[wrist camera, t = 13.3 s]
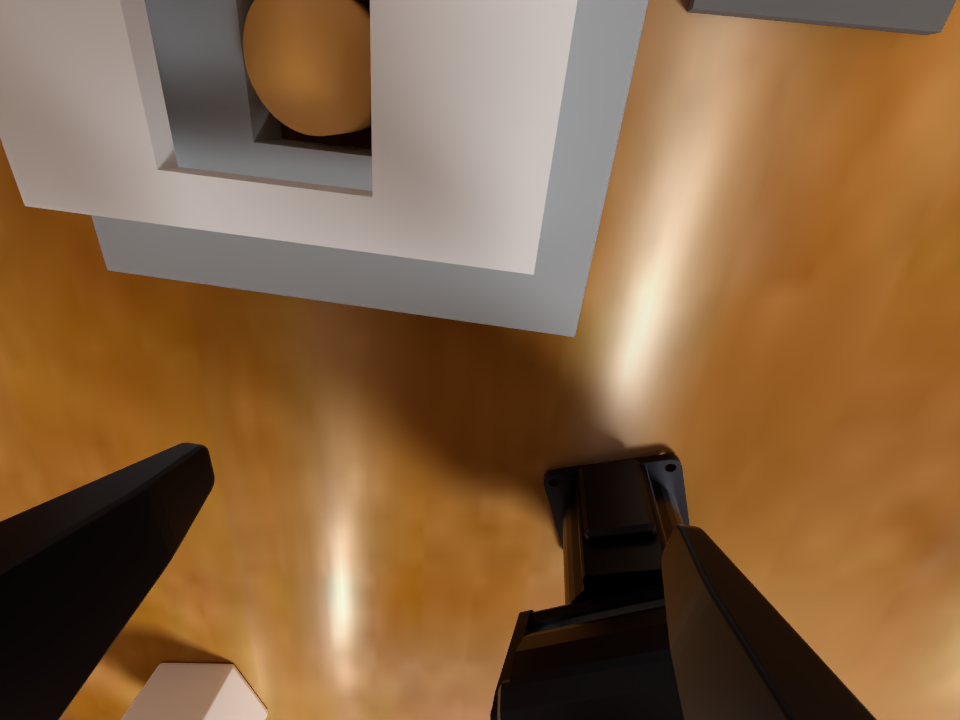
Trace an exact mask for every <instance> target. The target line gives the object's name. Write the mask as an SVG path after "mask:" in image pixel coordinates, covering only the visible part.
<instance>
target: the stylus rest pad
mask: <svg viewBox="0 0 960 720" xmlns="http://www.w3.org/2000/svg"><path fill="white" fill-rule="evenodd" d="M955 1H956V0H690V4H689V8H688V12H692V13H702V14H713V15H723V16H733V17H744V18H754V19H765V20H775V21H785V22H796V23H806V24H816V25H827V26H837V27H847V28H858V29H868V30H878V31H889V32H899V33H909V34H920V35H929V34H934V33H940V32H941V31H942V29H943V27H944V25H945V22H946V20H947V18H948V16H949V14H950V12H951V10H952V8H953V6H954V3H955Z"/></svg>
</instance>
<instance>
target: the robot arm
mask: <svg viewBox="0 0 960 720" xmlns="http://www.w3.org/2000/svg"><path fill="white" fill-rule="evenodd" d="M668 464H673V465H672V466H666V465H668ZM214 479H215V477H214V472H213V467H212V463H211V459H210V455H209V451H208V449H207V448H206V447H205V446H203V445H199V444H193V443H181V444H178V445H176V446H174V447H171V448H169V449H167V450H165V451H162V452H160V453H158V454H155V455H153V456H151V457H148V458H146V459H144V460H142V461H139V462H137V463H135V464H132V465H130V466H128V467H125V468H123V469H121V470H119V471H116V472H114V473H112V474H109V475H107V476H105V477H102V478H100V479H98V480H95V481H93V482H91V483H89V484H86V485H84V486H82V487H79V488H77V489H75V490H72V491H70V492H68V493H66V494H63V495H61V496H59V497H56V498H54V499H52V500H49V501H47V502H45V503H42V504H40V505H38V506H36V507H33V508H31V509H29V510H26V511H24V512H22V513H19V514H17V515H15V516H12V517H10V518H8V519H6V520H3V521H1V522H0V720H59V719H60V717H61V716H62V714H63V713H64V711H65V710H66V709H67V707H68V706H69V704H70V703H71V702H72V700H73V699H74V697H75V696H76V694H77V693H78V692H79V690H80V689H81V687H82V686H83V685H84V683H85V682H86V680H87V679H88V677H89V676H90V675H91V673H92V672H93V670H94V669H95V668H96V666H97V665H98V663H99V662H100V660H101V659H102V658H103V656H104V655H105V653H106V652H107V651H108V649H109V648H110V646H111V645H112V644H113V642H114V641H115V639H116V638H117V636H118V635H119V634H120V632H121V631H122V629H123V628H124V627H125V625H126V624H127V622H128V621H129V619H130V618H131V617H132V615H133V614H134V612H135V611H136V610H137V608H138V607H139V605H140V604H141V602H142V601H143V600H144V598H145V597H146V595H147V594H148V593H149V591H150V590H151V588H152V587H153V585H154V584H155V583H156V581H157V580H158V578H159V577H160V576H161V574H162V573H163V571H164V570H165V568H166V567H167V565H168V564H169V562H170V561H171V559H172V558H173V556H174V554H175V553H176V551H177V549H178V548H179V546H180V544H181V543H182V541H183V539H184V537H185V536H186V534H187V532H188V530H189V529H190V527H191V525H192V523H193V522H194V520H195V518H196V516H197V515H198V513H199V511H200V509H201V508H202V506H203V504H204V502H205V501H206V499H207V497H208V495H209V494H210V492H211V490H212V488H213V485H214ZM551 479H556V480H557V481H551ZM544 486H545V489H546V493H547V496H548V499H549V503H550V506H551V509H552V513H553V516H554V520H555V523H556V526H557V530H558V533H559V536H560V540H561V543H562V547H563V554H564V582H565V605H562V606H558V607H553V608H549V609H544V610H540V611H535V612H534V611H533V610H529V611H524V612H520V613H519V616H518V620H517V623H516V626H515V629H514V633H513V636H512V639H511V642H510V646H509V649H508V652H507V655H506V659H505V662H504V665H503V668H502V672H501V675H500V678H499V681H498V685H497V688H496V691H495V696H494V701H493V706H492V710H491V715H490V718H491V720H877V719H876V718H875V717H874V716H873V715H872V714H871V713H870V712H869V711H868V709H867V708H866V707H865V706H864V705H863V704H862V703H861V702H860V701H859V700H858V699H857V697H856V696H855V695H854V694H853V693H852V692H851V691H850V690H849V689H848V688H847V687H846V686H845V684H844V683H843V682H842V681H841V680H840V679H839V678H838V677H837V676H836V675H835V674H834V672H833V671H832V670H831V669H830V668H829V667H828V666H827V665H826V664H825V663H824V662H823V660H822V659H821V658H820V657H819V656H818V655H817V654H816V653H815V652H814V651H813V650H812V648H811V647H810V646H809V645H808V644H807V643H806V642H805V641H804V640H803V639H802V638H801V636H800V635H799V634H798V633H797V632H796V631H795V630H794V629H793V628H792V627H791V626H790V624H789V623H788V622H787V621H786V620H785V619H784V618H783V617H782V616H781V615H780V614H779V612H778V611H777V610H776V609H775V608H774V607H773V606H772V605H771V604H770V603H769V602H768V600H767V599H766V598H765V597H764V596H763V595H762V594H761V593H760V592H759V591H758V590H757V588H756V587H755V586H754V585H753V584H752V583H751V582H750V581H749V580H748V579H747V578H746V576H745V575H744V574H743V573H742V572H741V571H740V570H739V569H738V568H737V567H736V566H735V564H734V563H733V562H732V561H731V560H730V559H729V558H728V557H727V556H726V555H725V554H724V552H723V551H722V550H721V549H720V548H719V547H718V546H717V545H716V544H715V543H714V542H713V540H712V539H711V538H710V537H709V536H708V535H707V534H706V533H705V532H704V531H703V530H702V529H701V528H699V527H695V526H689V518H688V510H687V503H686V495H685V487H684V479H683V471H682V465H681V463H680V460H679V458H678V457H677V456H676V455H673V454H664V455H657V456H650V457H642V458H635V459H628V460H620V461H613V462H605V463H598V464H591V465H583V466H576V467H568V468H561V469H554V470H549V471H547V472H546V473H545V475H544Z"/></svg>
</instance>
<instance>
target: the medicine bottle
mask: <svg viewBox="0 0 960 720" xmlns="http://www.w3.org/2000/svg"><path fill="white" fill-rule="evenodd" d="M267 714H268V711H267V708H266V707H265V706H264V704H263V703H262V702H261V700H260V699H259V698H258V696H257V695H256V694H255V692H254V691H253V690H252V688H251V687H250V686H249V684H248V683H247V681H246V680H245V679H244V677H243V676H242V675H241V673H240V672H239V671H238V669H237V668H236V667H235V665H234V664H217V663H161V664H159V665H158V667H157V668H156V669H155V671H154V672H153V674H152V675H151V677H150V678H149V679H148V681H147V682H146V684H145V685H144V687H143V688H142V689H141V691H140V692H139V694H138V695H137V697H136V698H135V700H134V701H133V702H132V704H131V705H130V707H129V708H128V710H127V711H126V712H125V714H124V715H123V717H122V718H121V720H265V719H266V717H267Z"/></svg>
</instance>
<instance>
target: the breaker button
mask: <svg viewBox="0 0 960 720" xmlns="http://www.w3.org/2000/svg"><path fill="white" fill-rule="evenodd" d="M243 53H244V60H245V65H246V69H247V72H248V76H249V78H250V81H251V83H252V86H253V87H254V89H255V91H256V93H257V95H258V97H259V98H260V100H261V101H262V103H263V104H264V105H265V107H266V108H267V109H268V110H269V111H270V112H271V113H272V115H273V116H274V117H276V118H277V119H278V120H279V121H280V122H282V123H283V124H285V125H286V126H288V127H289V128H291V129H293V130H295V131H297V132H300V133H303V134H306V135H311V136H327V135H335V134H343V133H351V132H358V131H362V130H365V129H367V128H369V127H371V126H372V125H371V51H370V10H369V9H368V8H367V7H366V6H364V5H363V4H361V3H360V2H358V1H356V0H254V2H253V3H252V5H251V7H250V9H249V12H248V14H247V17H246V21H245V25H244V32H243Z"/></svg>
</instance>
